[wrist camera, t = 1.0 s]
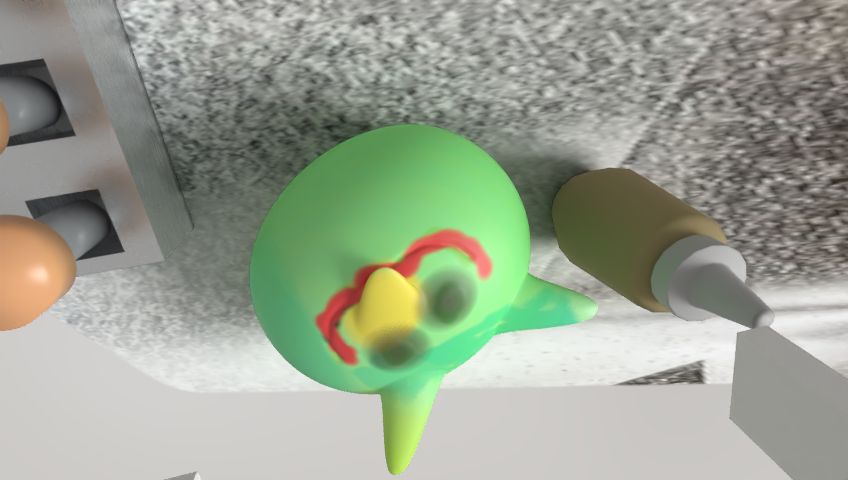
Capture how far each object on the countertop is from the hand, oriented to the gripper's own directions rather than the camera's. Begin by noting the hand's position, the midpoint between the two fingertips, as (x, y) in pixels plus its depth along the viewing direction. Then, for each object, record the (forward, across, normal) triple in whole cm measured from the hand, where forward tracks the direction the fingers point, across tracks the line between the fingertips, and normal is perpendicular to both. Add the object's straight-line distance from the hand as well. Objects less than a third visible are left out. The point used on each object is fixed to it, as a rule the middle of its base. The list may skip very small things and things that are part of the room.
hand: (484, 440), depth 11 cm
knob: (+20, -19, +3) cm, 28 cm away
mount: (+26, -19, +10) cm, 33 cm away
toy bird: (+26, -1, -4) cm, 26 cm away
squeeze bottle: (+26, +15, -6) cm, 31 cm away
